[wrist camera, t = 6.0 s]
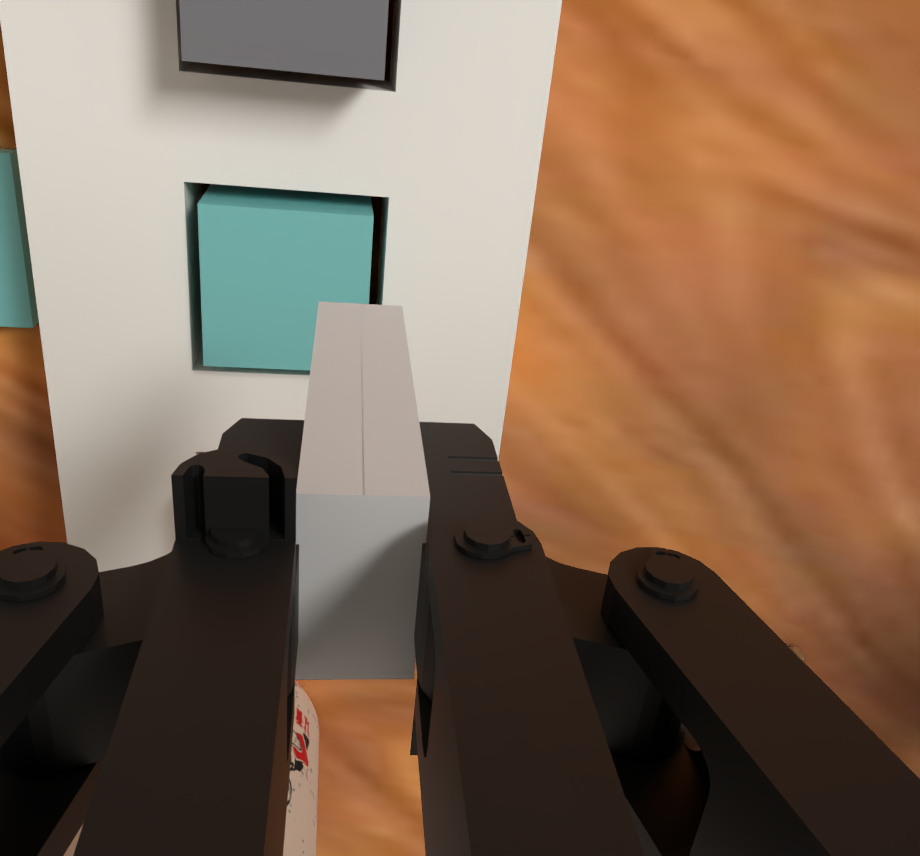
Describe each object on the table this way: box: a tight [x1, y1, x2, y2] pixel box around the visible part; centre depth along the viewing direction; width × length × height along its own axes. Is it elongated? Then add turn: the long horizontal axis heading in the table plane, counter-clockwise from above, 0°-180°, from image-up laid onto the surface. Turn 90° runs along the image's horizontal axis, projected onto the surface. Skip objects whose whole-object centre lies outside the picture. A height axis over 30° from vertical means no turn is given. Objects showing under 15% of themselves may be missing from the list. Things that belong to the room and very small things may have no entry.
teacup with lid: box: [64, 681, 319, 856], centre depth 28 cm, size 12×9×12 cm
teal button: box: [197, 184, 374, 371], centre depth 24 cm, size 4×4×3 cm
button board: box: [0, 0, 562, 572], centre depth 24 cm, size 13×22×3 cm, turn 174°
